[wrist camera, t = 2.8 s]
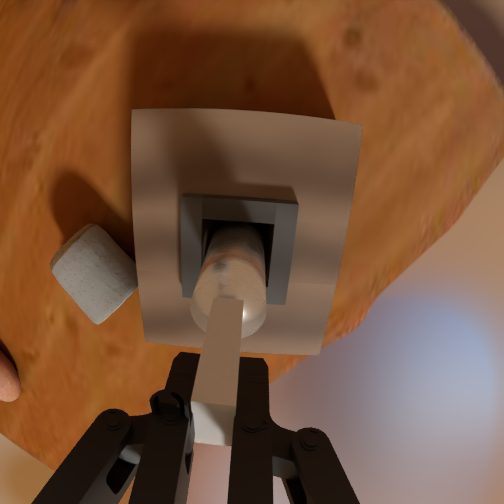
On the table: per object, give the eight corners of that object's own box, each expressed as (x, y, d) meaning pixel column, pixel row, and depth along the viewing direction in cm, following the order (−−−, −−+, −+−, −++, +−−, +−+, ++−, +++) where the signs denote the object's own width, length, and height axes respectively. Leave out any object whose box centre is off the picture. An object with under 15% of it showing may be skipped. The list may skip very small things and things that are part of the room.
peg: (211, 219, 24) (189, 274, 16) (266, 223, 24) (270, 280, 16) (210, 267, 25) (191, 336, 18) (261, 271, 25) (262, 342, 18)
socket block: (163, 109, 27) (126, 109, 19) (336, 121, 27) (367, 125, 19) (165, 296, 35) (142, 348, 27) (308, 307, 36) (320, 362, 27)
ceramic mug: (102, 208, 31) (65, 236, 24) (154, 263, 34) (130, 303, 27) (57, 264, 34) (23, 297, 27) (102, 310, 37) (77, 349, 30)
